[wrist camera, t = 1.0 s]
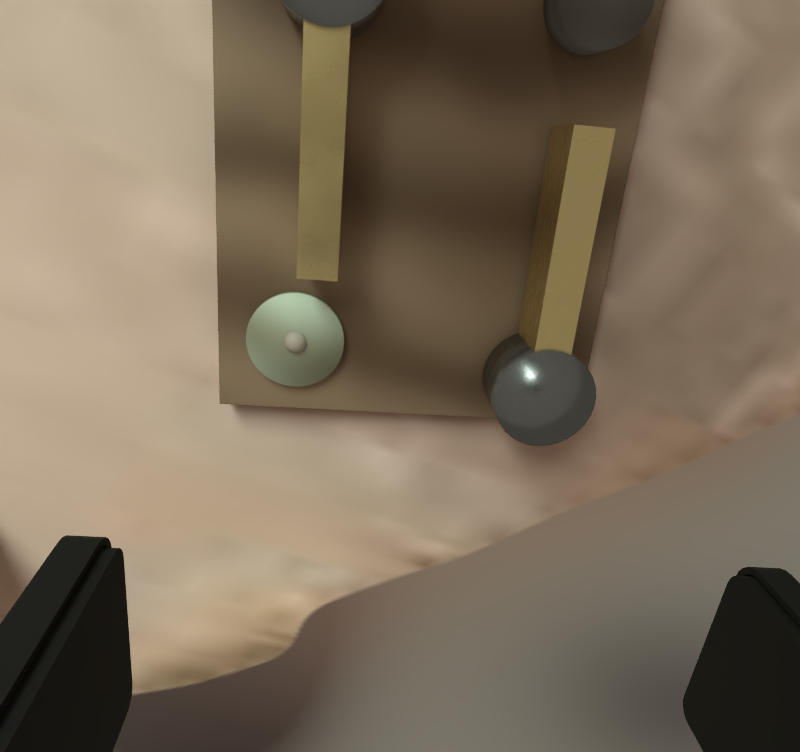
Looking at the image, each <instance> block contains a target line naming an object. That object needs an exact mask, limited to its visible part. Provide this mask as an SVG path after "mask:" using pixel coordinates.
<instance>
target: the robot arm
mask: <svg viewBox="0 0 800 752" xmlns="http://www.w3.org/2000/svg"><path fill="white" fill-rule="evenodd" d="M131 695H132V672H131V658H130V643H129V629H128V614H127V600H126V585H125V571H124V557H123V552H122V550H121V549H120V548H111V543H110V541H109V539H108V538H106V537H88V536H64V537H62V538H61V540H60V541H59V542H58V543H57V545H56V546H55V547H54V549H53V550H52V552H51V553H50V554H49V556H48V557H47V559H46V560H45V562H44V563H43V564H42V566H41V567H40V569H39V570H38V572H37V573H36V574H35V576H34V577H33V579H32V580H31V581H30V583H29V584H28V586H27V587H26V589H25V590H24V591H23V593H22V594H21V596H20V597H19V599H18V600H17V601H16V603H15V604H14V606H13V607H12V608H11V610H10V611H9V613H8V614H7V616H6V617H5V618H4V620H3V621H2V623H1V624H0V752H113V749H114V746H115V744H116V741H117V738H118V736H119V733H120V731H121V728H122V725H123V723H124V720H125V718H126V715H127V712H128V709H129V705H130V701H131ZM683 708H684V714H685V718H686V720H687V722H688V725H689V726H690V728H691V730H692V732H693V733H694V735H695V737H696V739H697V740H698V743H699V744H700V746H701V748H702V750H703V752H800V583H799V582H798V581H797V580H796V579H795V578H794V577H793V576H792V575H791V574H789V573H788V572H787V571H786V570H783V569H780V568H758V567H746V568H743V569H741V570H740V571H739V572H738V574H737V575H736V576H733V577H732V578H731V579H730V580H729V582H728V583H727V586H726V589H725V591H724V594H723V596H722V599H721V602H720V604H719V607H718V609H717V612H716V615H715V617H714V620H713V622H712V625H711V628H710V630H709V633H708V635H707V638H706V641H705V643H704V646H703V648H702V651H701V653H700V656H699V659H698V662H697V664H696V666H695V669H694V672H693V674H692V677H691V680H690V682H689V685H688V687H687V690H686V692H685V695H684V699H683Z"/></svg>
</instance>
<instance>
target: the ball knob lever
mask: <svg viewBox="0 0 800 752" xmlns="http://www.w3.org/2000/svg"><path fill="white" fill-rule="evenodd" d="M281 2H282V4H283V6H284V8H285V9H286V11H287V12H288V13H289V15H290V16H291V17H292V18H293V19H294V21H295V22H297V23H298V24H299V25H300V26H301V27H302V28H303V59H302V96H301V132H300V168H299V205H298V241H297V277H296V279H310V280H324V281H338V273H339V261H340V242H341V223H342V203H343V184H344V165H345V146H346V127H347V108H348V88H349V69H350V50H351V36H354V35H356V34H359V33H360V32H362V31H364V30H365V29H367V28H368V27H369V26H370V25H371V24H372V23H373V22H374V21H375V20H376V19H377V18H378V16H379V15H380V13H381V12H382V10H383V8H384V6H385V4H386V2H387V0H281Z"/></svg>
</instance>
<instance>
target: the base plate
mask: <svg viewBox="0 0 800 752" xmlns="http://www.w3.org/2000/svg"><path fill="white" fill-rule="evenodd" d="M663 3H664V0H387V2H386V4H385V6H384V8H383V10H382V12H381V13H380V15H379V16H378V18H377V19H376V20H375V21H374V22H373V23H372V24H371V25H370V26H369V27H368V28H367V29H365V30H364V31H362V32H360V33H359V34H356V35H354V36H351V50H350V69H349V88H348V108H347V127H346V146H345V165H344V184H343V203H342V223H341V242H340V261H339V273H338V281H324V280H310V279H296V277H297V241H298V205H299V168H300V132H301V96H302V59H303V28H302V27H301V26H300V25H299V24H298V23H297V22H295V21H294V19H293V18H292V17H291V16H290V15H289V13H288V12H287V11H286V9H285V8H284V6H283V4H282V2H281V0H212V11H213V65H214V118H215V171H216V224H217V278H218V331H219V384H220V404H234V405H253V406H273V407H292V408H312V409H331V410H350V411H370V412H389V413H408V414H428V415H447V416H466V417H486V418H497V416H496V414H495V412H494V410H493V408H492V406H491V404H490V402H489V400H488V398H487V396H486V394H485V392H484V389H483V384H482V373H483V368H484V365H485V362H486V360H487V358H488V356H489V355H490V353H491V352H492V350H493V349H494V348H495V347H496V346H497V345H498V344H499V343H500V342H502V341H503V340H505V339H506V338H508V337H510V336H512V335H514V334H517V333H518V331H519V325H520V318H521V312H522V306H523V300H524V294H525V288H526V282H527V275H528V269H529V263H530V257H531V251H532V245H533V239H534V232H535V226H536V220H537V214H538V208H539V202H540V195H541V189H542V183H543V177H544V171H545V165H546V159H547V152H548V146H549V140H550V134H551V128H552V126H556V125H584V126H594V127H604V128H614V129H616V130H615V135H614V141H613V146H612V151H611V156H610V161H609V166H608V171H607V176H606V181H605V186H604V191H603V196H602V201H601V206H600V211H599V217H598V222H597V227H596V232H595V237H594V242H593V247H592V252H591V257H590V262H589V267H588V272H587V277H586V282H585V287H584V293H583V298H582V303H581V308H580V313H579V318H578V323H577V328H576V333H575V338H574V343H573V348H572V353H573V354H574V355H575V356H576V357H577V358H578V359H579V360H580V361H581V362H582V363H583V364H584V365H585V366H586V367H588V362H589V357H590V353H591V348H592V343H593V338H594V333H595V329H596V324H597V319H598V314H599V310H600V305H601V300H602V295H603V290H604V286H605V281H606V276H607V271H608V266H609V262H610V257H611V252H612V247H613V243H614V238H615V233H616V228H617V223H618V219H619V214H620V209H621V204H622V199H623V195H624V190H625V185H626V180H627V175H628V171H629V166H630V161H631V156H632V152H633V147H634V142H635V137H636V132H637V128H638V123H639V118H640V113H641V108H642V104H643V99H644V94H645V89H646V85H647V80H648V75H649V70H650V65H651V61H652V56H653V51H654V46H655V41H656V37H657V32H658V27H659V22H660V18H661V13H662V8H663Z"/></svg>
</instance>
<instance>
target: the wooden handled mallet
mask: <svg viewBox="0 0 800 752" xmlns="http://www.w3.org/2000/svg"><path fill="white" fill-rule="evenodd" d="M615 130H616V129H614V128H604V127H594V126H584V125H556V126H552V128H551V134H550V140H549V146H548V152H547V159H546V165H545V171H544V177H543V183H542V189H541V195H540V202H539V208H538V214H537V220H536V226H535V232H534V239H533V245H532V251H531V257H530V263H529V269H528V275H527V282H526V288H525V294H524V300H523V306H522V312H521V318H520V325H519V331H518V333H517V334H514V335H512V336H510V337H508V338H506V339H505V340H503V341H502V342H500V343H499V344H498V345H497V346H496V347H495V348H494V349H493V350H492V352H491V353H490V355H489V356H488V358H487V360H486V362H485V365H484V368H483V373H482V384H483V389H484V392H485V394H486V396H487V398H488V400H489V402H490V404H491V406H492V408H493V410H494V412H495V414H496V416H497V418H498V420H499V422H500V424H501V426H502V427H503V429H504V430H505V431H506V432H507V433H508V434H509V435H510V436H511V437H513V438H514V439H516V440H518V441H520V442H522V443H525V444H529V445H535V446H545V445H551V444H556V443H559V442H561V441H564V440H566V439H568V438H569V437H571V436H572V435H574V434H575V433H576V432H578V431H579V430H580V429H581V428H582V427H583V426H584V424H585V423H586V422H587V420H588V419H589V417H590V415H591V413H592V411H593V408H594V405H595V400H596V387H595V383H594V379H593V377H592V375H591V373H590V372H589V370H588V369H587V367H586V366H585V365H584V364H583V363H582V362H581V361H580V360H579V359H578V358H577V357H576V356H575V355H574V354H573V353H572V348H573V343H574V338H575V333H576V328H577V323H578V318H579V313H580V308H581V303H582V298H583V293H584V287H585V282H586V277H587V272H588V267H589V262H590V257H591V252H592V247H593V242H594V237H595V232H596V227H597V222H598V217H599V211H600V206H601V201H602V196H603V191H604V186H605V181H606V176H607V171H608V166H609V161H610V156H611V151H612V146H613V141H614V135H615Z"/></svg>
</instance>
